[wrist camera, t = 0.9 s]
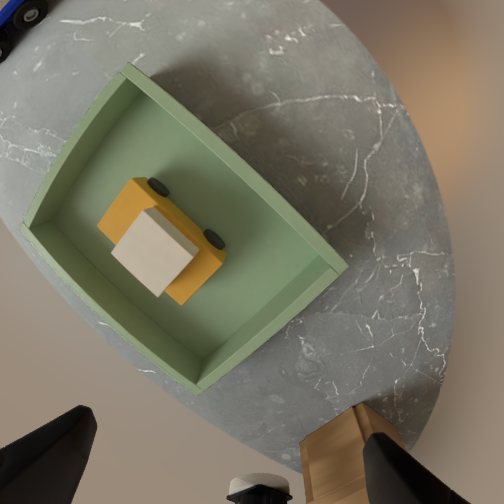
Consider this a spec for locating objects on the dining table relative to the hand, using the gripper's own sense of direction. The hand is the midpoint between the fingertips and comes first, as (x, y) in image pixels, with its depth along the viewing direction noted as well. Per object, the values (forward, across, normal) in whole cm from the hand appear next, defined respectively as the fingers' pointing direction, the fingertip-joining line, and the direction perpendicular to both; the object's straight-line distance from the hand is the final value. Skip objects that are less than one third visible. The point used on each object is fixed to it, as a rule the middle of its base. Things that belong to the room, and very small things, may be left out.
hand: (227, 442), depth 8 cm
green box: (+14, +5, -3) cm, 15 cm away
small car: (+13, +5, -3) cm, 14 cm away
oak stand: (+13, -12, +17) cm, 24 cm away
